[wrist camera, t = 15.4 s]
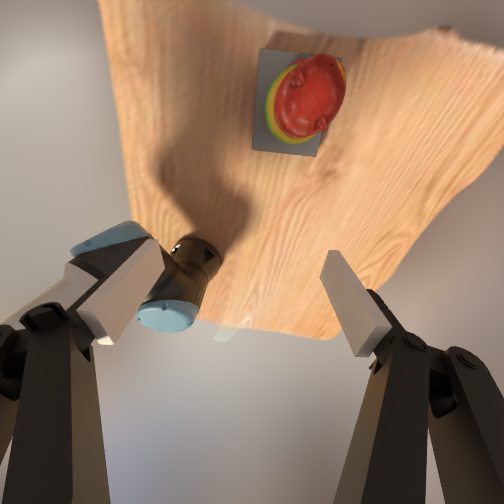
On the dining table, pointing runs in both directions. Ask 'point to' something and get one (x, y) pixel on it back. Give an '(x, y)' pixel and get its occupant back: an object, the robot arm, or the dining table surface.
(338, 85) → the stacking bear
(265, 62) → the grey block
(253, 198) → the dining table surface
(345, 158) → the dining table surface
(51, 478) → the robot arm
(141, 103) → the dining table surface
